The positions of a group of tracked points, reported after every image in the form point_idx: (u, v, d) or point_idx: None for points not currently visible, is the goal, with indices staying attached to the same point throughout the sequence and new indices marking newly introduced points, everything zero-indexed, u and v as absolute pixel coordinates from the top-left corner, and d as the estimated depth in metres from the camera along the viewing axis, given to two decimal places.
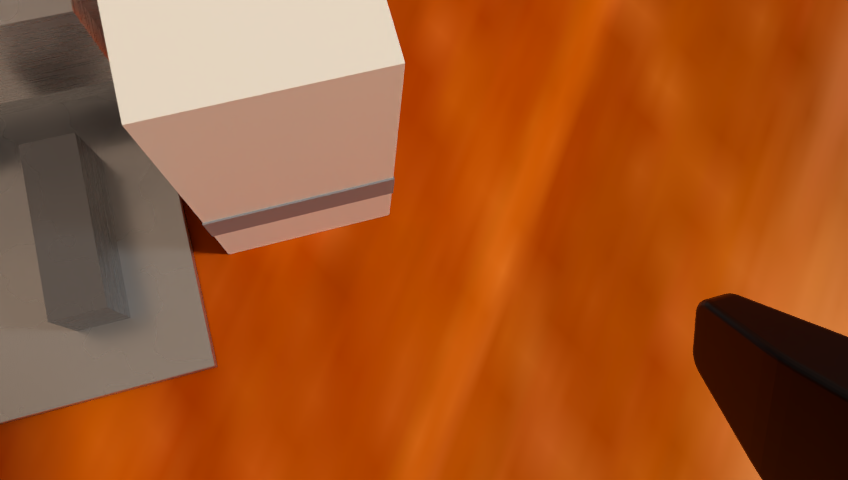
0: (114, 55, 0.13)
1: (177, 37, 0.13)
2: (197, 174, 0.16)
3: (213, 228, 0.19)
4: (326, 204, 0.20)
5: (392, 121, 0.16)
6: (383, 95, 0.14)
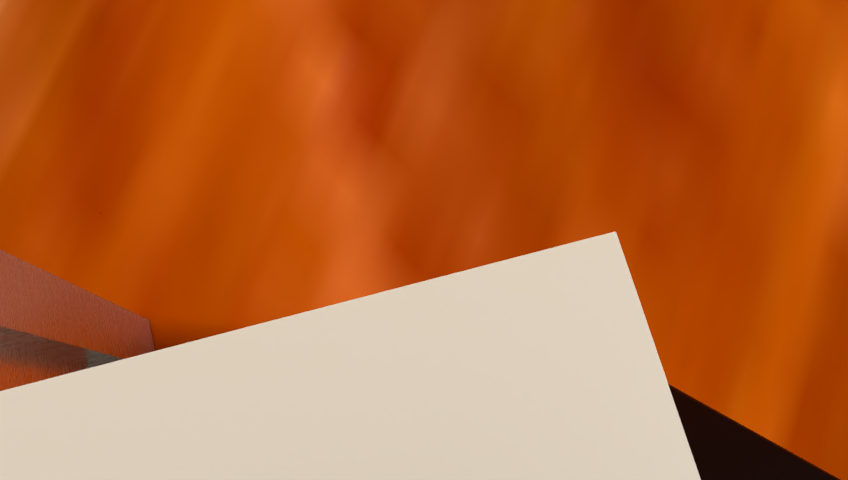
0: None
1: None
2: None
3: None
4: None
5: None
6: None
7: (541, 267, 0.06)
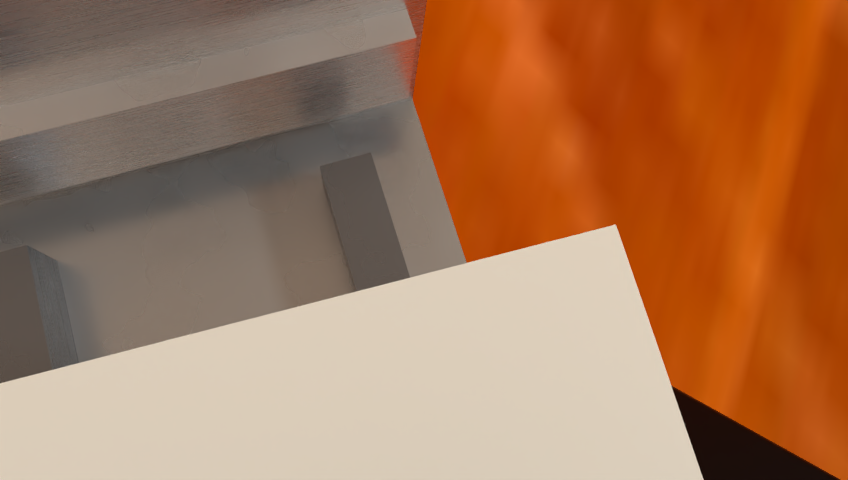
0: None
1: None
2: None
3: None
4: None
5: None
6: None
7: (541, 260, 0.06)
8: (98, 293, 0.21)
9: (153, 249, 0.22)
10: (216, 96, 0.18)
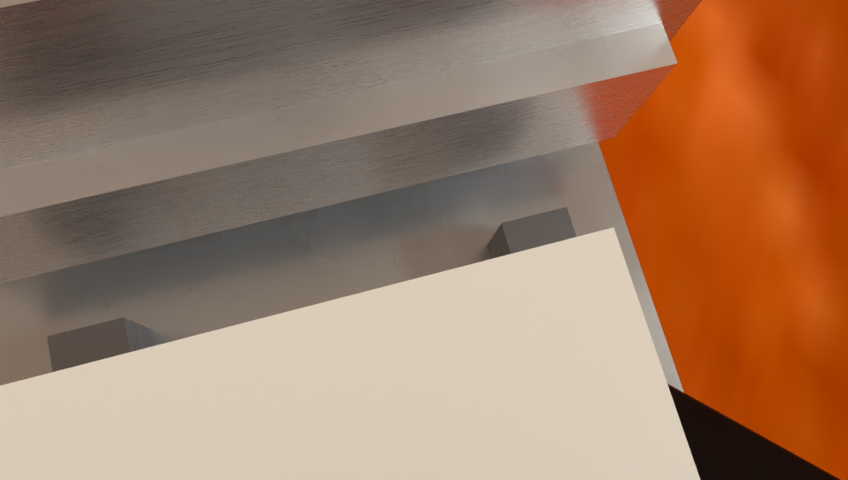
0: None
1: None
2: None
3: None
4: None
5: None
6: None
7: (539, 263, 0.06)
8: None
9: None
10: (404, 135, 0.13)
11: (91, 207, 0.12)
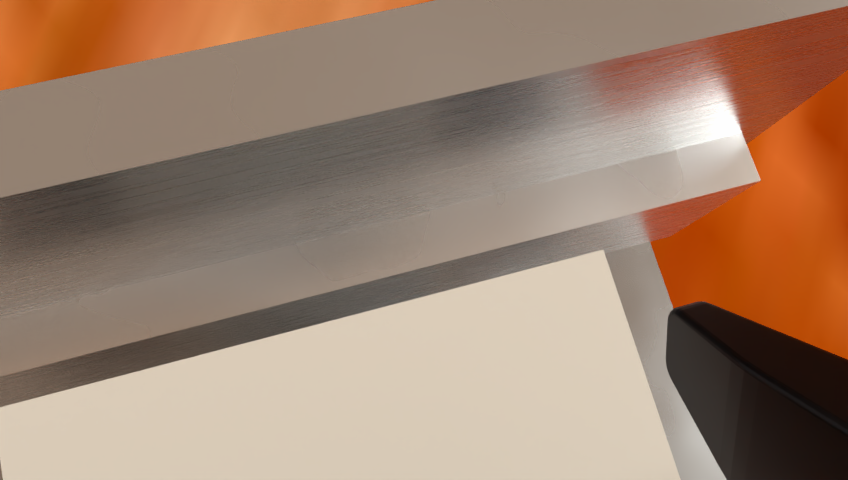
0: None
1: None
2: None
3: None
4: None
5: None
6: None
7: (534, 282, 0.06)
8: None
9: None
10: (447, 266, 0.11)
11: (86, 360, 0.10)
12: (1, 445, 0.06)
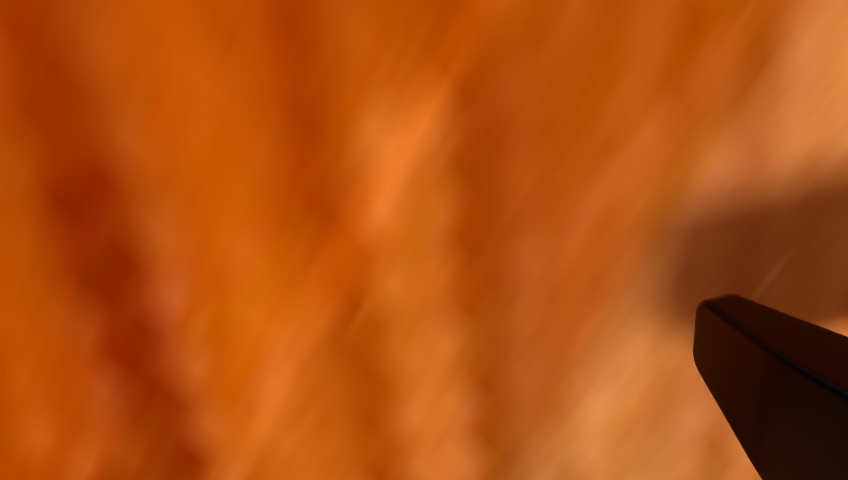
0: None
1: None
2: None
3: None
4: None
5: None
6: None
7: None
8: None
9: None
10: None
11: None
12: None
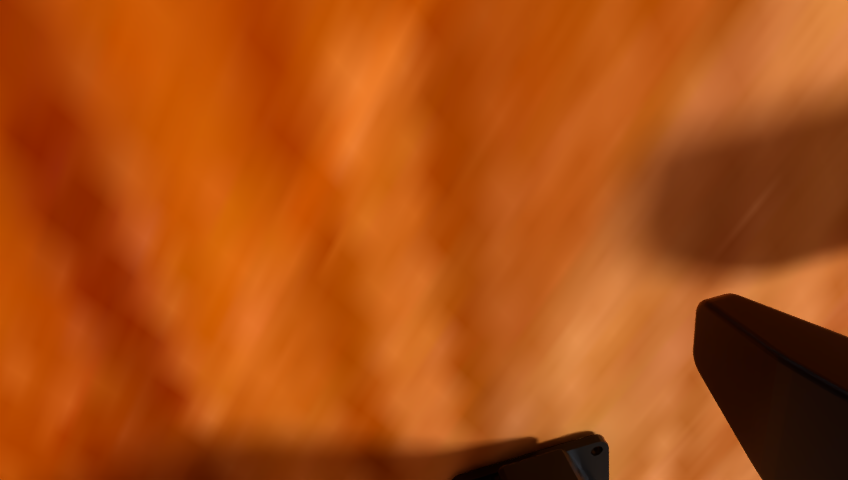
0: None
1: None
2: None
3: None
4: None
5: None
6: None
7: None
8: None
9: None
10: None
11: None
12: None
